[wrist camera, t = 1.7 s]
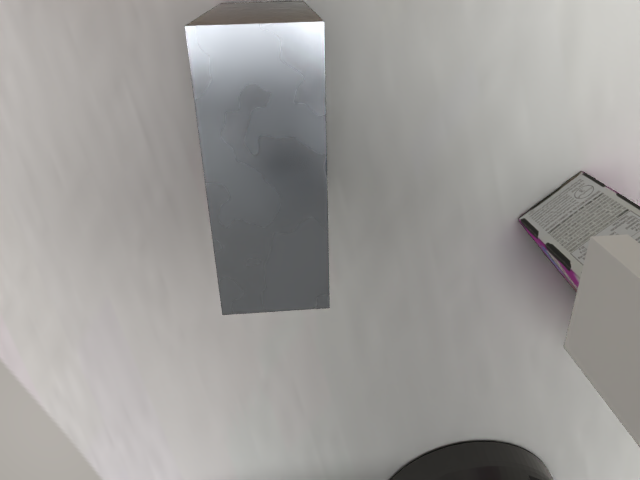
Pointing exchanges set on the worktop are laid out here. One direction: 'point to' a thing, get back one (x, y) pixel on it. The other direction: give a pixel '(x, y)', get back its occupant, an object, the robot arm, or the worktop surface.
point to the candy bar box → (579, 222)
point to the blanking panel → (264, 152)
